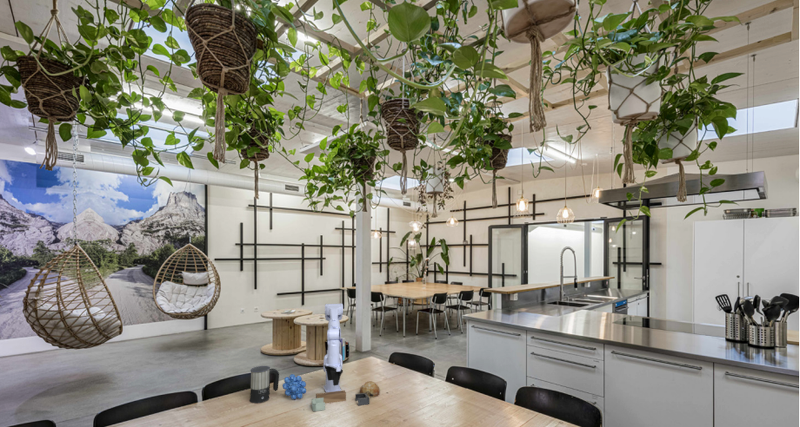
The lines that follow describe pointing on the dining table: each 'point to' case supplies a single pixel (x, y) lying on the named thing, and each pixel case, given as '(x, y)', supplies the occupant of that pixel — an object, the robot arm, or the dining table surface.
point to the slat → (332, 396)
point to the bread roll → (370, 389)
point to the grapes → (294, 386)
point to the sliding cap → (318, 404)
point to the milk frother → (262, 383)
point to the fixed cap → (362, 399)
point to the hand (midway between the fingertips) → (333, 382)
